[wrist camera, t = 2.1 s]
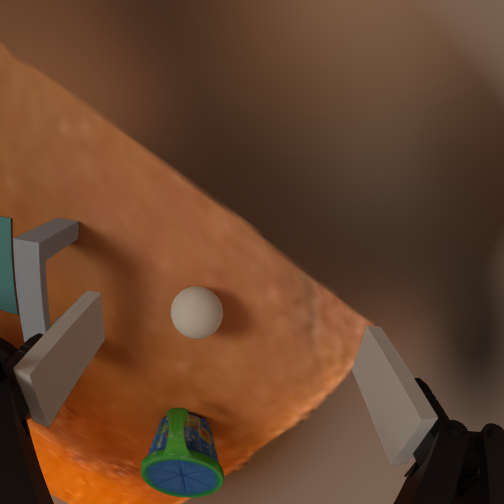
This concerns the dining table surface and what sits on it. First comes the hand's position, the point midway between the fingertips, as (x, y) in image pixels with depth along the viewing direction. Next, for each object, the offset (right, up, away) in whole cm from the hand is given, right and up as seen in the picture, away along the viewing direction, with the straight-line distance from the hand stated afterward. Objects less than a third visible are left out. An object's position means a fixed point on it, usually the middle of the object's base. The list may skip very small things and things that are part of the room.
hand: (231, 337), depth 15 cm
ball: (-5, -2, +18) cm, 19 cm away
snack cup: (-9, -21, +26) cm, 35 cm away
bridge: (-21, +1, +18) cm, 28 cm away
